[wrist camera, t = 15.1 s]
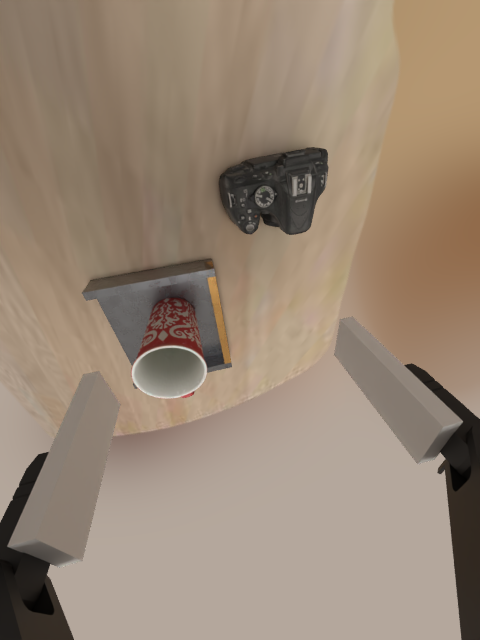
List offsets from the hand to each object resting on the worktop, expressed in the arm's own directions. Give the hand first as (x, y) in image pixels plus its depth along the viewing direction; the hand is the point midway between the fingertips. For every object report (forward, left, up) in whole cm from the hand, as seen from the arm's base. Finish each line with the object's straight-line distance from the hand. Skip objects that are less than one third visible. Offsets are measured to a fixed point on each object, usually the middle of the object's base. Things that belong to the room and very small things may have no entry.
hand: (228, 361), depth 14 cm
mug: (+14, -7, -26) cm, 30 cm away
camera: (-5, +10, -27) cm, 29 cm away
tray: (+14, -8, -27) cm, 31 cm away
